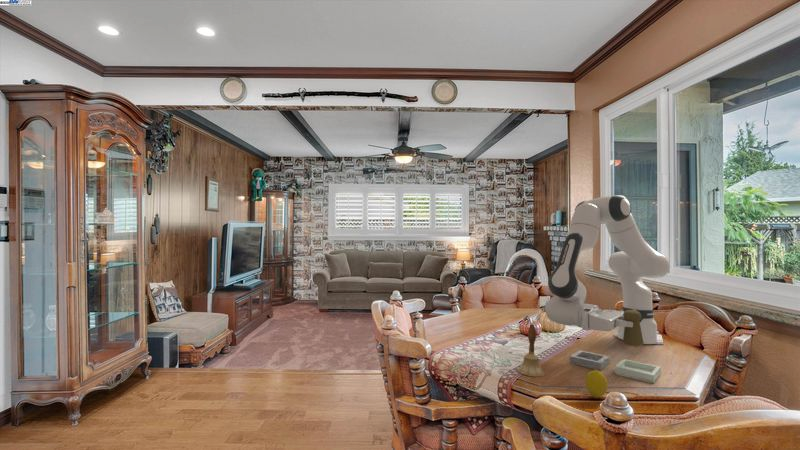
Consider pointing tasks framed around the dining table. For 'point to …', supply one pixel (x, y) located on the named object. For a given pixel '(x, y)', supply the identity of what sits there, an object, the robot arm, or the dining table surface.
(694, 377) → the dining table surface
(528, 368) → the hand bell
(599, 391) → the lemon
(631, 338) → the cork
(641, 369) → the sage tray
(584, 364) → the grey square frame
